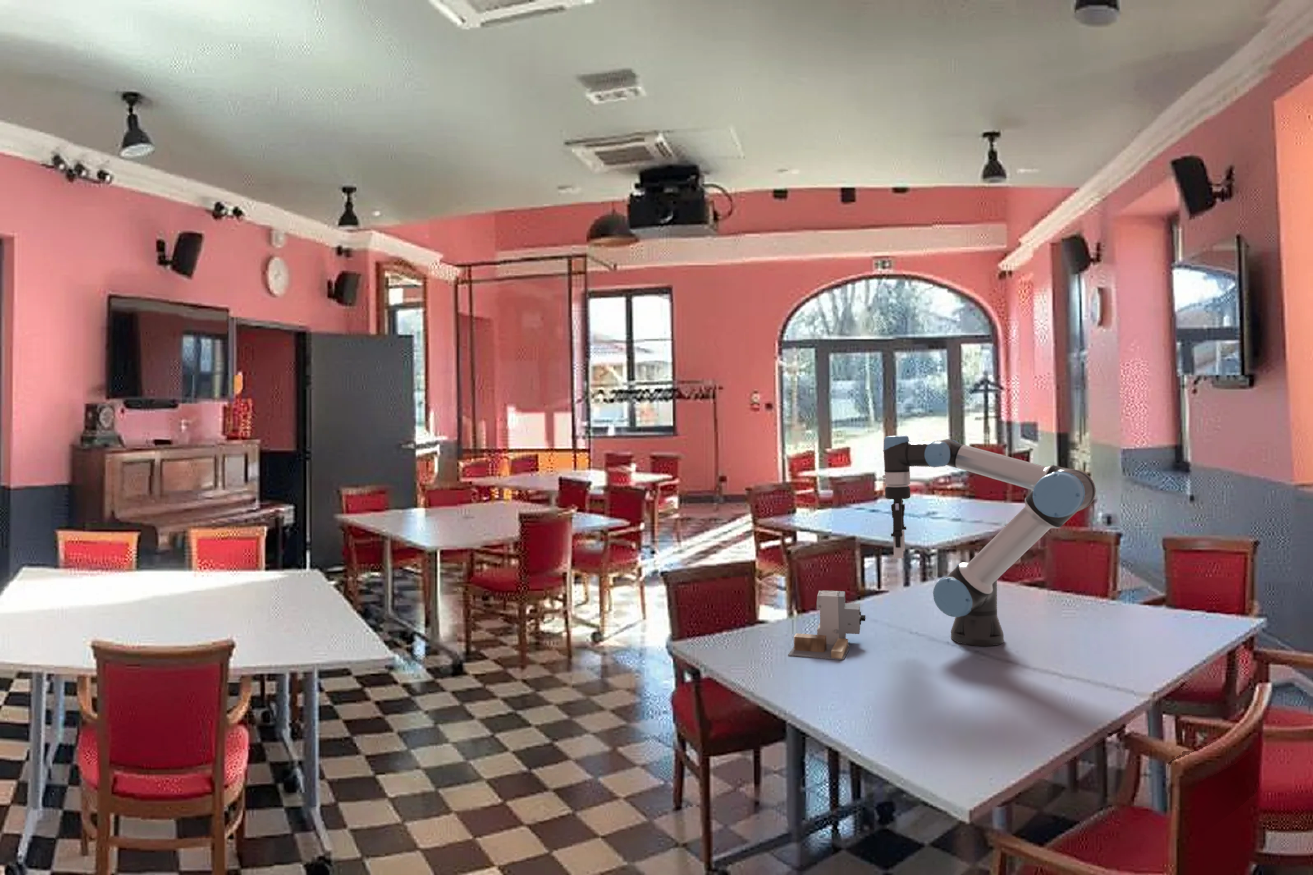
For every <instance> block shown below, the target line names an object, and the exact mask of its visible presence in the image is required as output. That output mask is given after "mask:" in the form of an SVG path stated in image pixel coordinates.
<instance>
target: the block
mask: <svg viewBox="0 0 1313 875" xmlns="http://www.w3.org/2000/svg"><path fill="white" fill-rule="evenodd" d="M793 647H794V650H799V651H813V652H825V650H826V635H817V634H813V633H812V634H810V633H809V634H808V633H797V632H796V633H795V634H794V636H793Z"/></svg>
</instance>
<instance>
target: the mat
mask: <svg viewBox="0 0 1313 875" xmlns="http://www.w3.org/2000/svg"><path fill="white" fill-rule="evenodd" d="M833 647H834V644H826V650H825V652H813V651H799V650H794V646H793V647H792V648H791V649H790V651H788V654H787V656H788V657H798V658H810V659H811V658H812V659H826V660H837V661H844V660H845V658H846V657H847V654H848V652H849V650H850V648H851V645H848V647H847V649H846V651H845V653H844V655H843V657H842V659H840V658H831V650H832V648H833Z"/></svg>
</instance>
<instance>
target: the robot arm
mask: <svg viewBox="0 0 1313 875" xmlns="http://www.w3.org/2000/svg"><path fill="white" fill-rule="evenodd" d="M882 451H883V463H884V466H883V467H884V470H883V471H884V474H883V475H882V478H883V479H884V484H885V485H886V486H885V487H884V497H885V498H886V500H893V503H892V504H890V509H891V518H892V529H893V530H892V533H890V537H891V538H893V539H892V542H893V559H904V552H905V551H906V546H905V545H906V544H905V543H906V542H905V540H906V539H905V531H906V530H907V526H905V520H904V518H905V517H904V516H905V510H906V504H905V503H904V500H908V499H910V498H911V487H910V486H909V485H910V484H911V470H910V467H923V468H924V467H925V468H928V467H931V468H941V467H946V466H947V467H952V468H955V469H960V470H963V471H967V472H970V473H973V474H977V475H980V476H984V477H987V478H990V479H993V480H997V481H1001V482H1003V483H1007V484H1010V485H1014V486H1017V487H1020V488H1025V489H1027V490H1032V491H1031V492H1030V493H1029V494H1028V495H1027V496H1026V497H1025V498H1024V504H1025V505H1024V507H1023V508H1022V509H1021V510H1020V511H1019V512H1018V513H1017V514H1016V515H1015V516H1014V517H1013V518H1012V519H1011V520H1010V521H1009V522H1008V523H1007V524H1006V525H1005V526H1004V527H1003V528H1002V529H1001V530H1000V531H999V532H998V533H997V534H996V535H995V536H994V537H993V538H992V539H991V540H990V541H989V542H988V543H986V545H985V546H984V547H983V548H982V549H981V550H980V551H979V552H978V553H977V554H976V555H975V556H974V557H973V558H972V559H971V560H970V561H968V562H967V561H965V562H964V561H963V562H960V563H958V564H956V566H955V568H954V569H953V570H952V571H951V572H950V573H949V574H948V575H947V576H945V577H942V578H941V579H939V580H937V582H936V584H934V587H933V591H932V595H933V600H934V601H933V602H934V603H935V605H936V607H937V608H938V610H940V611H941V612H942V613H943V614H945V615H946V616H948V617H951V618H954V620H953V624H952V626H951V629H950V639H951V640H952V641H954V642H956V643H959V644H963V645H968V646H978V647H990V646H998V645H1001V644H1003V643H1004V641H1005V640H1004V639H1005V637H1004V635H1005V634H1004V632H1003V629H1002V625H1001V623H1000V620H999V617H998V579H999V578H1000V577H1001V576H1003V574H1004V573H1005V572H1006V571H1007V570H1008V569H1009V568H1011V567H1012V566H1013V565H1014V564H1015V563H1016V562H1017V561H1018V560H1019V559H1020V558H1021V557H1022V556H1024V554H1025V553H1026V552H1027V551H1028V550H1029V549H1031V547H1033V546H1034V545H1035V544H1036V543H1037V542H1038V541H1039V540H1040V539H1041V538H1043V536H1044V535H1045V534H1046V533H1047V532H1048V531H1049V530H1050V529H1060V528H1061V527H1062V526H1063V525H1064V524H1065V523H1066V522H1067V521H1069V520H1070V519H1071V518H1072V517H1073V516H1074V515H1076V514H1077V512H1079V511H1080V512H1081V511H1083V510H1084V509H1086V508H1088V507H1089V506H1090V505H1091V504H1092V503H1093V501H1094V500H1095V498H1096V491H1097V490H1096V485H1095V482H1094V480H1093V479H1092V477H1091V476H1090V475H1089V474H1087V473H1086V472H1084V471H1081V470H1079V469H1073V468H1067V467H1061V466H1059V465H1054V464H1051V465H1049V466H1045V465H1040V464H1036V463H1034V462H1030V461H1026V460H1023V459H1020V458H1019V459H1018V458H1015V457H1010V456H1008V455H1007V456H1006V455H1004V454H1000V453H996V452H993V451H989V450H985V449H981V448H977V447H975V446H974V447H973V446H970V445H966V444H963V443H959V442H958V441H957V440H954V439H949V438H947V439H941V440H932V441H910V439H909V436H908V435H888V436H887V435H886V436H885V437H884V439H883V450H882Z"/></svg>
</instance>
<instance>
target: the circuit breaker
mask: <svg viewBox="0 0 1313 875" xmlns="http://www.w3.org/2000/svg"><path fill="white" fill-rule="evenodd" d="M816 610H817V611H819V623H818V626H817V629H816V630H817V631H816V635H826V644H834V645H835V643H836V641H837V639H838V638H841V639H847V634H849V635H850V634H852V635H860V633H861V625H862V622H866V618H867V617H866V614H862V611H861V604H860V603H850V602H849V603H846V591H843V590H842V591H841V590H818V593H817V596H816Z"/></svg>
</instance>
